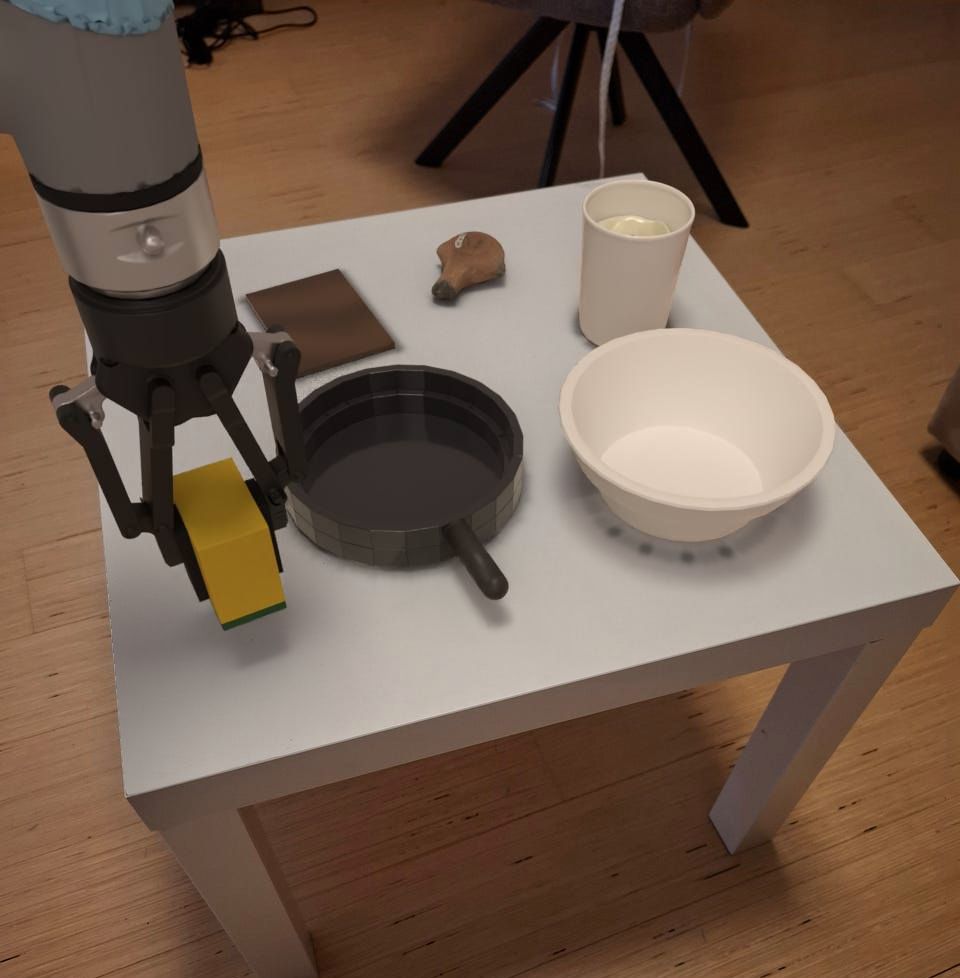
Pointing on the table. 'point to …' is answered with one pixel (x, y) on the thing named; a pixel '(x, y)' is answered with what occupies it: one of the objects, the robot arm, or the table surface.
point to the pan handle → (476, 560)
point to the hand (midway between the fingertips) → (235, 572)
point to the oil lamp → (468, 262)
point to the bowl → (694, 430)
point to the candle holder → (631, 256)
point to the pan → (405, 464)
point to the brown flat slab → (322, 320)
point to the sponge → (229, 543)
